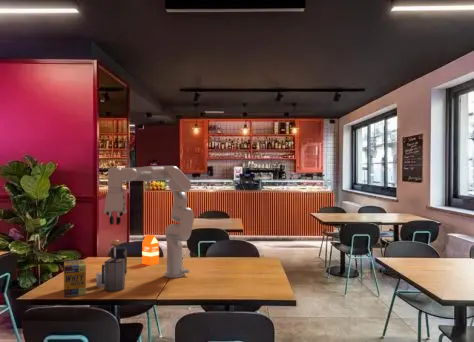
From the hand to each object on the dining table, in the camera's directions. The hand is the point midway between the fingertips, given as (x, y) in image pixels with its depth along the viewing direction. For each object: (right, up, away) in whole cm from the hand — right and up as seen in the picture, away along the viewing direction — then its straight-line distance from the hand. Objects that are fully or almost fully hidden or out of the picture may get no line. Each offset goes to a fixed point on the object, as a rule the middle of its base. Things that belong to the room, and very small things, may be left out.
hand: (115, 224), depth 215 cm
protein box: (-19, -35, -6) cm, 41 cm away
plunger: (0, -22, 0) cm, 22 cm away
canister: (-7, -36, +31) cm, 48 cm away
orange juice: (+6, -36, +62) cm, 72 cm away
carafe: (0, -35, 0) cm, 35 cm away
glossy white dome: (-9, -35, +6) cm, 37 cm away
